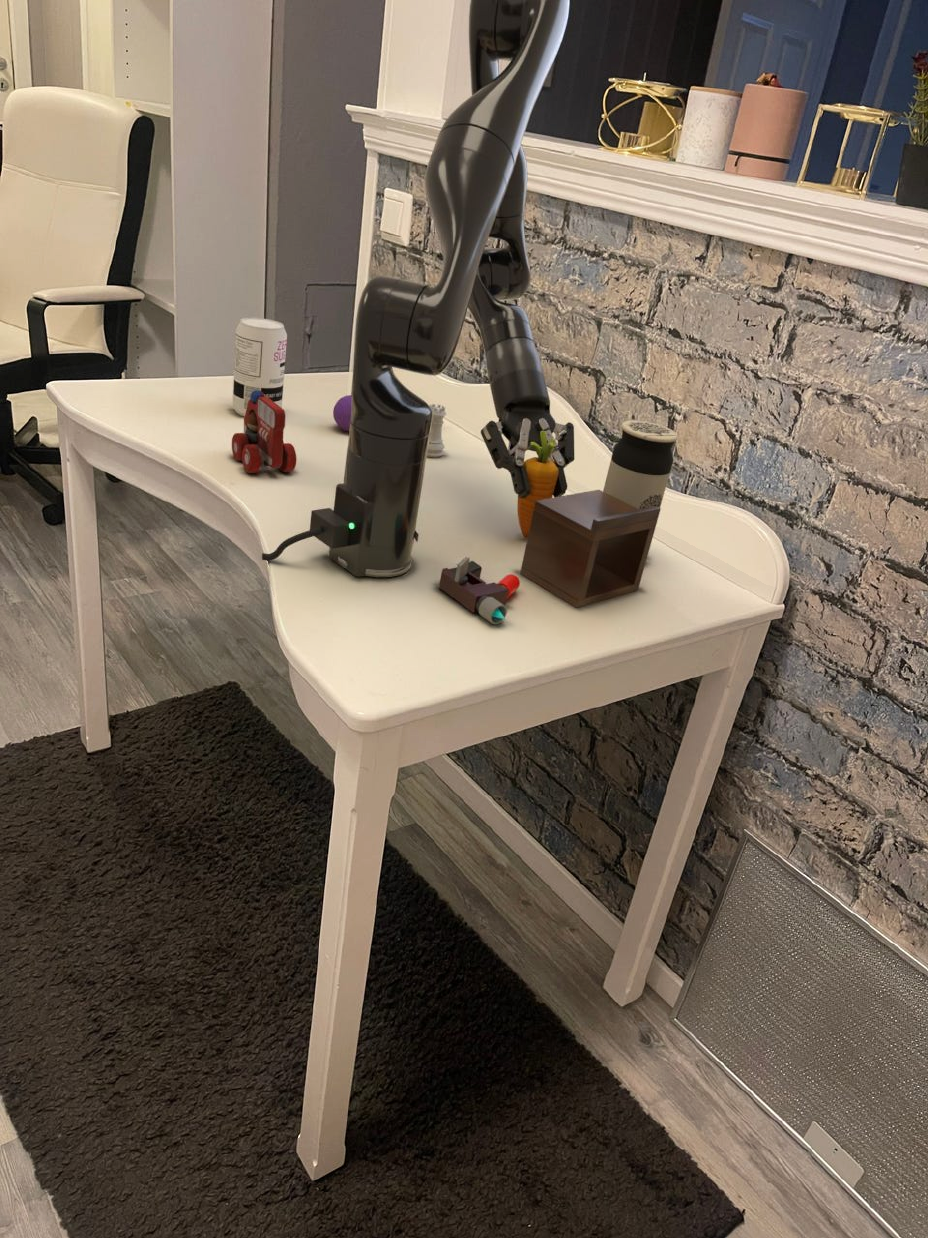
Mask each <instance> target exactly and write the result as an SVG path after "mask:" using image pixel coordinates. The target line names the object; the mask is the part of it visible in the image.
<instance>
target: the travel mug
mask: <svg viewBox="0 0 928 1238" xmlns="http://www.w3.org/2000/svg"><path fill="white" fill-rule="evenodd" d="M620 426H621V427H620V428H621V429H622V432H621V438H620V439H619V440H618V441H617V442H616V444H615V445H614V446H613V449H612V453H611V457H610V462H609V466H608V470H607V474H606V478H605V482H604V486H603V490H602V491H603V492H605V493H607V494H609V495H611V496H613V497H615V498H617V499H619V500H621V501H623V502H625V503H627V504H629V505H631V506H633V507H635V508H637V509H639V510H640V509H645V508H650V507H655V506H657V507H659V508H661V506H662V502H663V500H664V495H665V492H666V489H667V485H668V481H669V477H670V474H671V472H672V471H671V470H672V467H673V463H674V456H673V451H672V448H673V446H674V444H675V442H676V441H677V440H678V439H679V435H678V433H676V431H674V430H672V428H670V427H666V426H664V425H661V424H658V423H654V422H650V421H644V420H626V421H623V422H622V423H621V425H620Z"/></svg>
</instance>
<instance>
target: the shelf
mask: <svg viewBox="0 0 928 1238" xmlns="http://www.w3.org/2000/svg"><path fill="white" fill-rule="evenodd" d="M660 514H661V507H660V508H659V507H657V506H655V507H650V508H645V509H640V510H639V509H637V508H635V507H633V506H631V505H629V504H627V503H625V502H623V501H621V500H619V499H617V498H615V497H613V496H611V495H609V494H607V493H605V492H603V490H601V489H594V490H589V491H583V492H577V493H572V494H567V495H565V494H564V495H562V496H560V497H554V496H553V497H552V498H549V499H543V500H537V501H535V506H534V511H533V515H532V520H531V525H530V529H529V534H528V538H526V544H525V549H524V553H523V557H522V558H523V559H522V562H521V567H520V571H519V574H520V575H522V576H523V577H526V578H527V579H529V580H530V581H532V582H533V583H535V584H536V585H539V586H540V587H542V588H543V589H545V590H547V591H548V592H550V593H551V594H553V595H554V596H557V597H558V598H560V599H562V600H563V601H565V602H567V603H568V604H570V605H572V606H573V607H574V608H577V609H578V608H580V607H584V606H587V605H591V604H594V603H596V602H597V603H599V602H601V601H604V600H608V599H611V598H614V597H618V596H621V595H625V594H628V593H631V592H635V591H638V590H639V588H640V584H641V581H642V578H643V574H644V570H645V566H646V563H647V559H648V556H649V552H650V548H651V546H652V542H653V538H654V534H655V531H656V527H657V524H658V520H659V516H660Z"/></svg>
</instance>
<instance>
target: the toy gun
mask: <svg viewBox="0 0 928 1238" xmlns="http://www.w3.org/2000/svg"><path fill="white" fill-rule="evenodd" d="M482 570H483V567H482V566H481V565H480V564H479V563H477V562H476V561H475V560H470V557H465V558H463V559H462V560H461V561H460V562H459V563H457V565H456V567H451V568H448V567H443V568H441V574H440V579H439V586H438V589H440V590H442V592H445V593H446V594H447V595H448V596H450V597H451V598H453V599H455V601H457V602H459V603H460V604H461V605H462V606H463V607H465V608H466V609H467V610H469V611H470V612H471V613H478V614H479V615H480V616H481V617H482V618H483V619H485V620H487V621H488V622H489V623H491V624H493V625H499V624H500V623H501V622H503V621H504V620H506V619H505V618H506V617H507V613H508V607H507V606H506V603H507V599H508V598H509V597H510V596H511V595H512V594H513V593H515V591H517V590H518V589H519V587H520V585H521V583H520V579H519V577H518V576H517V575H515V574H513V573H512V574H511V573H510V574H507V575H505V576H504V577H502V578H501V580H499V581H498V582H497V583H496V582H489V583H487V582H486V581H485V580H483V579H482V578H481V576H482Z"/></svg>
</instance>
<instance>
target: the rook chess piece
mask: <svg viewBox="0 0 928 1238" xmlns="http://www.w3.org/2000/svg"><path fill="white" fill-rule="evenodd" d="M429 406H430V408H431V410H432V424H431V431H430V438H429V444H428V451H427V457H428V458H433V459H434V458H436V459H437V458H441V457H442V456H443V455H444V453H445V452H444V449H445V444H444V441H443V437H442V432H443V431H442V430H443V425H444V423H445V422H444V418H445V416H446V415H447V412H446V407H445V406H444V405H441V404H437V406H436V404H435V403H431V404H429ZM427 457H426V458H427Z"/></svg>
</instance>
